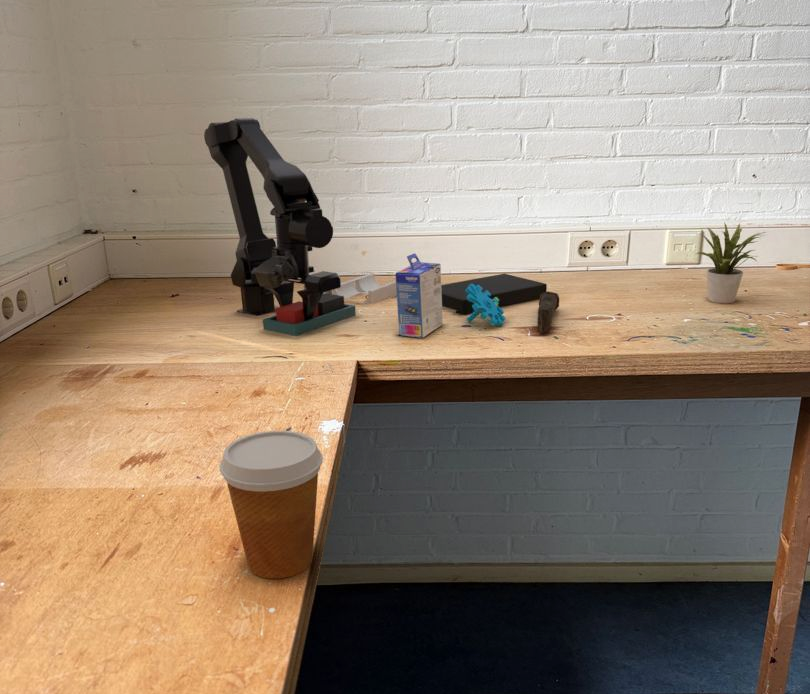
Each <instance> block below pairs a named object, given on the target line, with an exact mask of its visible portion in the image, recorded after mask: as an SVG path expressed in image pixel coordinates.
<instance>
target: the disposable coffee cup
mask: <svg viewBox="0 0 810 694" xmlns="http://www.w3.org/2000/svg"><path fill="white" fill-rule="evenodd" d="M323 459H324V457H323V453H322V452H321V450H319V447H318V445H317V442H316V440H315V439H314V438H313V437H311V436H310V435H308V434H305V433H302V432H298V431H294V430H293V431H291V430H266V431H260V432H259V431H258V432H254V433H251V434H248V435H245V436H242V437H239V438H237V439H235V440H233V441H232V442H229V444H228V445H227V446H225V448H224V451H223V453H222V459H221V460H220V462H219V472H220V474H221V476H222V477H223V479H224V480H225V482H226V484H227V488H228V492H229V496H230V501H231V505H232V508H233V512H234V516H235V520H236V524H237V528H238V532H239V534H240V539H241V543H242V547H243V550H244V551H243V552H244V556H245V559H246V564H247V568H248V570H249V571H250V572H251V573H252V574H254V575H255V576H257V577H260V578H264V579H285V578H290V577H292V576H297V575H299V574H300V573H302V572H304V571H305V570H306V569H307V568H308V567H309V566H310V565H311V564H312V562H313V559H314V558H313V556H314V555H313V554H314V540H315V539H314V538H315V526H316V513H317V512H316V511H317V510H316V509H317V498H318V497H317V496H318V483H319V482H318V481H319V472H320V470H321V466H322V464H323V461H324V460H323Z"/></svg>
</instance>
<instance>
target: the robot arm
mask: <svg viewBox="0 0 810 694" xmlns="http://www.w3.org/2000/svg"><path fill="white" fill-rule="evenodd" d="M203 137H204V143H205V145H206V146H207V148H208V151H209V154H210V158H211V159H212V160H213V161H214V162H215V163H216V164H217V165H218V166H219V168H221V170H222V172H223V176H224V177H223V178H224V181H225V184H226V189H227V192H228V197H229V200H230V204H231V209H232V213H233V217H234V220H235V224H236V229H237V233H238V236H239V241H238V244H237V247H236V249H235V258H236V259H235V260H236V262H235V264H234V266H233V268H232V271H231V273H230V279H231V283H232V285H233V286H235V287H238V288H240V296H241V306H242V308H241V309H239V310H236V312H237V313H241V314H246V315H250V316H256V317H260V316H262V315H265V314H269V313H272V312H276V308H277V307H275V299H276V301H277V304H278V305H279V307H282V306H285V305H288V304H292V303H294V290H295V284H301V285H304V286H303V289H301V290H300V289H299V290H297V291H296V293H297V294H298V295H299V297H300V298H301V300H302V301H301V302H303V312H304V319H305V321H306V320H309V319H312V317H313V315H314V312H315V310H316V307H317V305H318V303H319V300H320V299H321V297H322V295H323V293H324V292H327V291H330V290H334V289H337V288H340V287H341V283H342V282H341V281H340V280H341V276H340V275H339V274H338V273H337V272H333V271H324V270H322V271H319V272H315V268H314V266H311V265H310V260H309V252H312V251H313V248H315V249H322V248H325V247H327V246H328V245H329V244H330V242H331V241H332V239H333V236H334V226H333V225H332V223H331V221H330V220H329V219H328V218H327V217H326V216H324V215H323V209H322V208H321V206H320V203H319V201H320V200H319V198H318V196H317V194H316V193H315V190H314V188H313V186H312V184H311V182H310V180H309V179H308V177H307V175H306V174H305V173H304V171H302V170H301V168H299V167H298V166H297V165H294V164H292V163H290V162H287V161H286V160H285V159H284V158H283V157H282V155H281V154H280V153H279V151H278V150H277V149H276V147H275V146H274V145H273V143H272V142H271V140H270V139H269V138H268V136H267V135H266V133H264V131H263V130H262V129H261V125H260V122H259V120H258V119H257V118H253V117H241V118H234V119H232V120H230V121H226V122H225V121H222V122H221V121H220V122H210V123H209V125H208V126H207V128H206V129H205V130H204V134H203ZM248 158H249V159H250V160H251V163H253V164H254V166H255V167H256V169H257V170H258V172H259V173H260V175H261V177H262V178H263V187H262V188H263V191H264V193H265V194H266V197H267V199H268V201H269V202H270V204H271V205H272V206H273V208H272V209H271V210H270V211H269V214H270V216H273V217H274V222H275V236H276V237H275V238H276V241H275V239H274V238H273V237H271V238H269V237H268V236H267V234H266V233H264V230H263V227H262V222H261V219H260V215H259V211H258V210H259V209H258V206H257V202H256V198H255V194H254V191H253V190H254V189H253V186H252V181H251V178H250V174H249V170H248V167H247V166H248V165H247V161H248ZM314 272H315V273H314ZM311 273H312V274H311Z"/></svg>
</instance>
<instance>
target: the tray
mask: <svg viewBox="0 0 810 694" xmlns="http://www.w3.org/2000/svg"><path fill="white" fill-rule="evenodd" d="M355 316H357V312H356V305H355V304H348V303H344V308H342V309H339V310H336V311H333V312H330V313H327V314H324V315H321V316H318V317H315V318H312V319H309V320H306V321H303V322H300V323H297V324H291V323H286V322H281V321H277V318H276V314H275V315H272V316H269V317H266V318H263V319H262V328H263V330H264V331H268V332H273V333H279V334H282V335H288V336H293V337H299V336H301V335H303V334H306V333H309V332H313V331H315V330H318V329H320V328H323V327H324V328H325V327H326V326H330V325H332V324H335V323H339V322H341V321H343V320H347V319H349V318H352V317H355Z"/></svg>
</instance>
